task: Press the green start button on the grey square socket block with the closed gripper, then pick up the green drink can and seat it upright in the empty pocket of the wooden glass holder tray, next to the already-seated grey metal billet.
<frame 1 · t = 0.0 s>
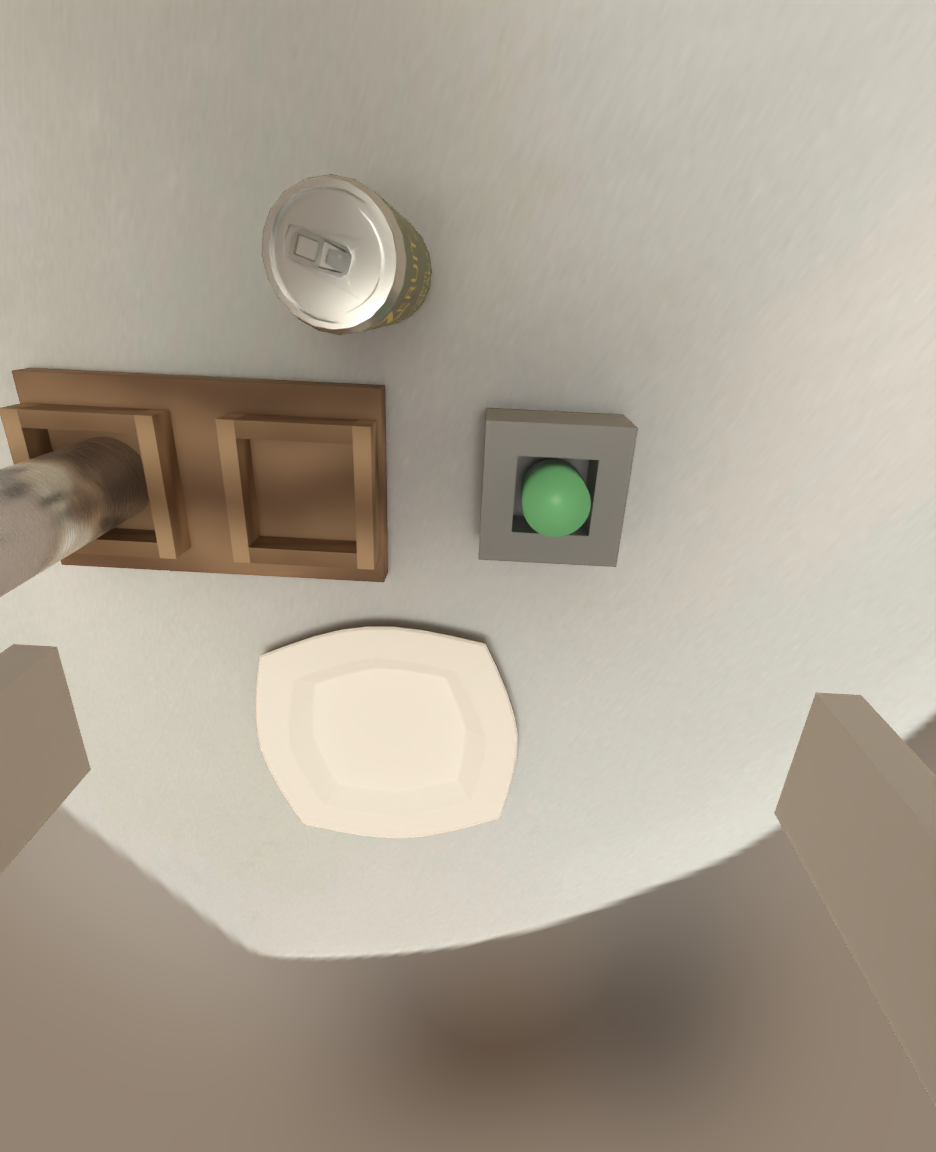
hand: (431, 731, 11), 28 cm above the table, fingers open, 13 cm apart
plate: (391, 724, 46), on the table
green drink can: (384, 270, 33), on the table
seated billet: (111, 478, 37), resting on wooden glass holder tray
start button: (554, 497, 34), point 4 cm above the table, slide at 0.0 cm
grey square socket block: (548, 477, 37), on the table
wooden glass holder tray: (219, 476, 38), on the table
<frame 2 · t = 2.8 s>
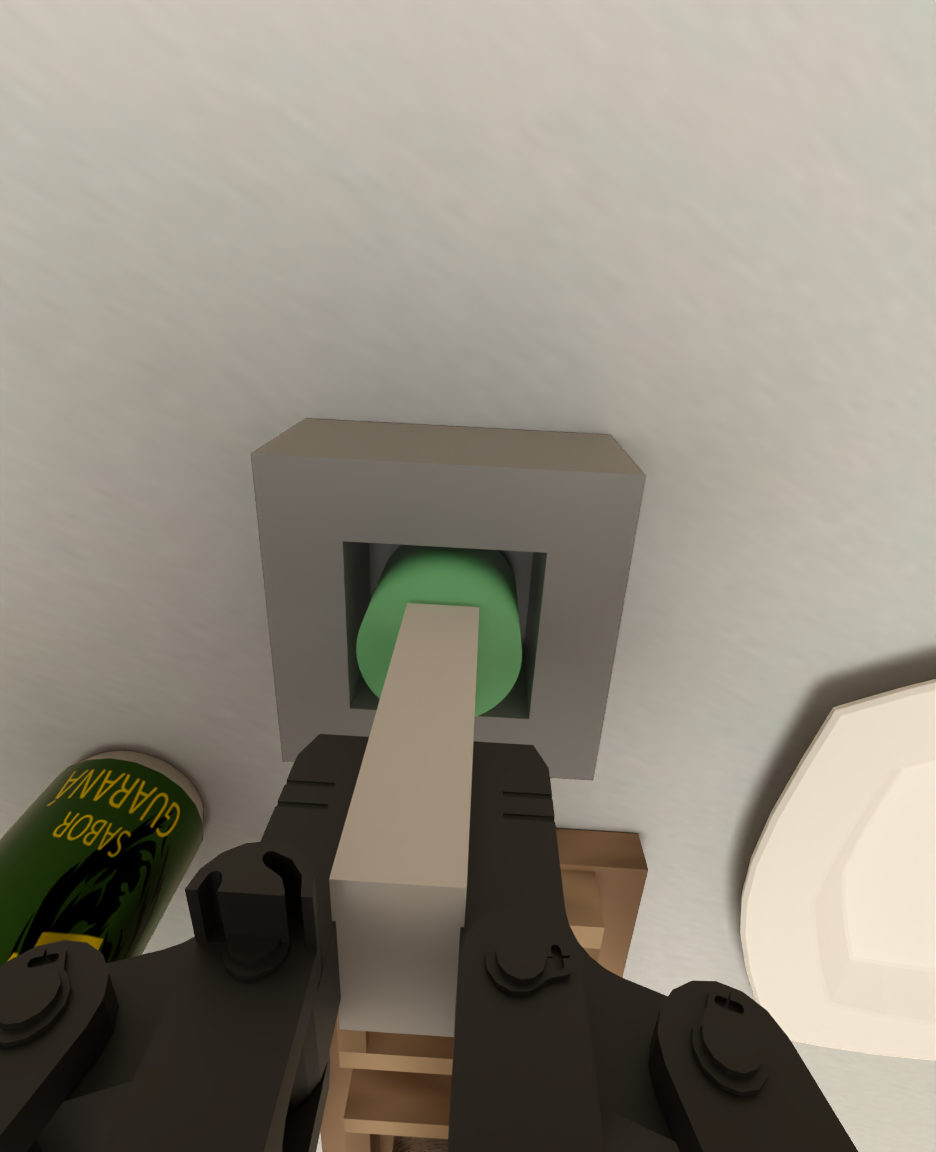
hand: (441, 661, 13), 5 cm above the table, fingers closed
green drink can: (140, 798, 22), on the table
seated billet: (451, 1121, 27), resting on wooden glass holder tray
start button: (443, 622, 15), point 3 cm above the table, slide at 0.6 cm, touching gripper
grey square socket block: (452, 566, 18), on the table
wooden glass holder tray: (458, 1003, 26), on the table
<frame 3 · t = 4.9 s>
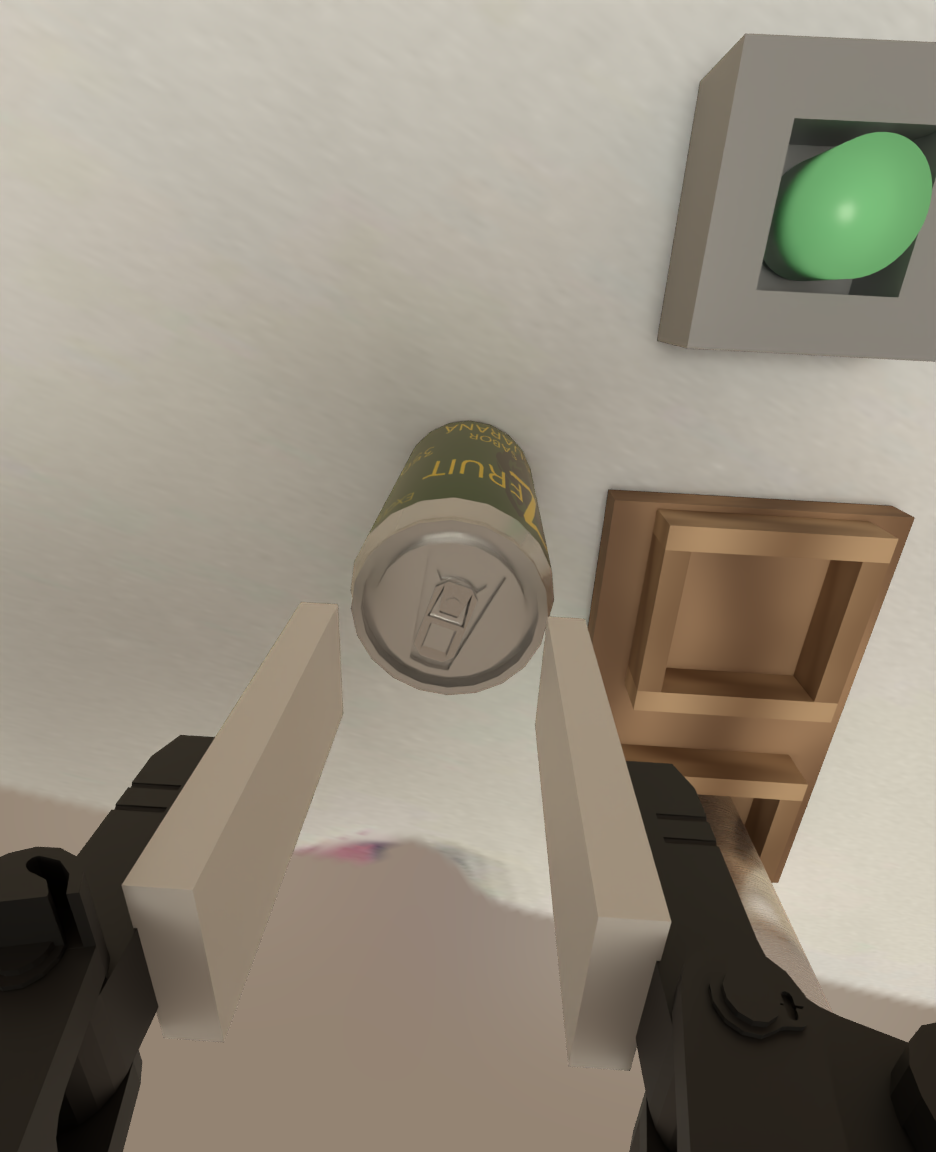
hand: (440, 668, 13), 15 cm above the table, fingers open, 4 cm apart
green drink can: (468, 480, 26), on the table
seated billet: (683, 813, 31), resting on wooden glass holder tray
start button: (837, 215, 19), point 3 cm above the table, slide at 0.7 cm
grey square socket block: (789, 226, 22), on the table
wooden glass holder tray: (698, 700, 30), on the table
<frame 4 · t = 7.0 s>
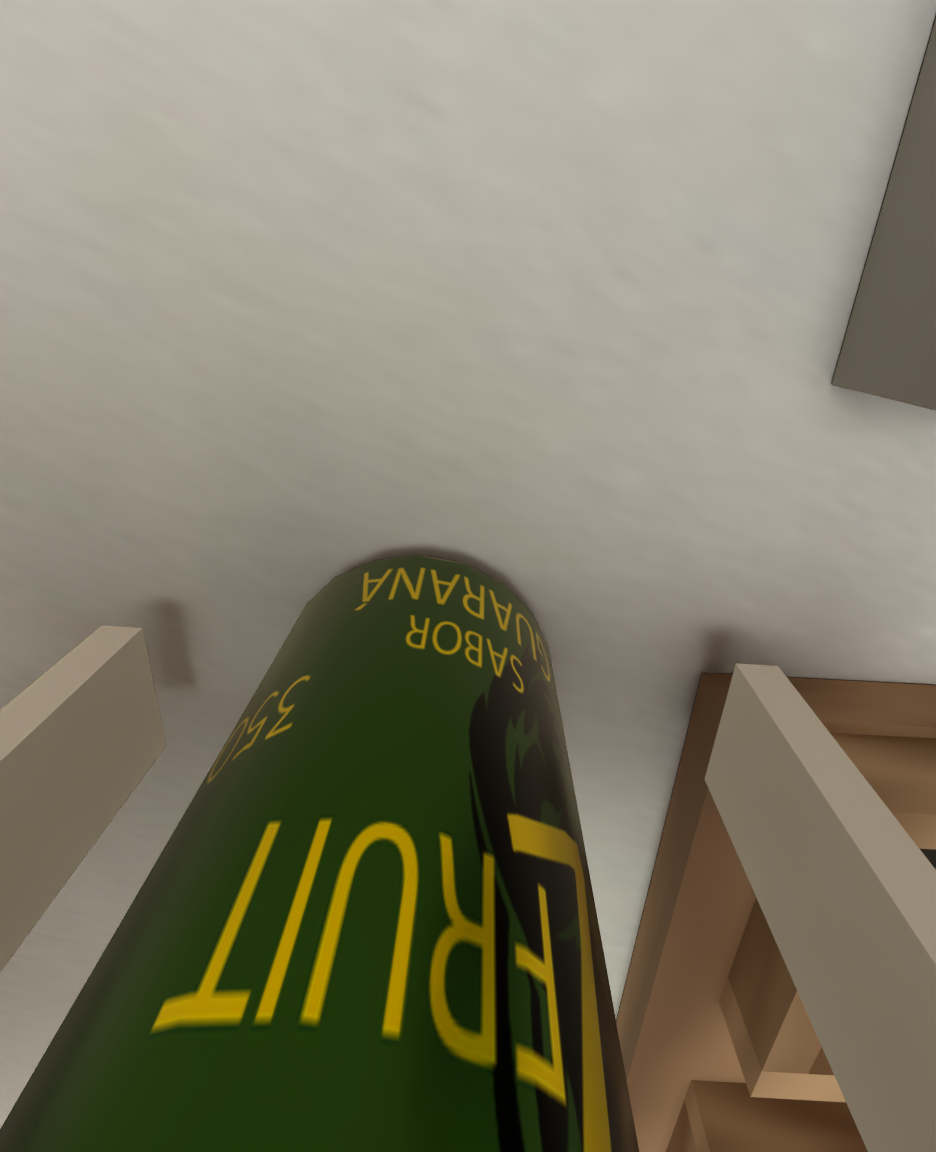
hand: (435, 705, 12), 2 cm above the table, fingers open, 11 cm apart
green drink can: (423, 652, 13), on the table
wooden glass holder tray: (836, 992, 17), on the table
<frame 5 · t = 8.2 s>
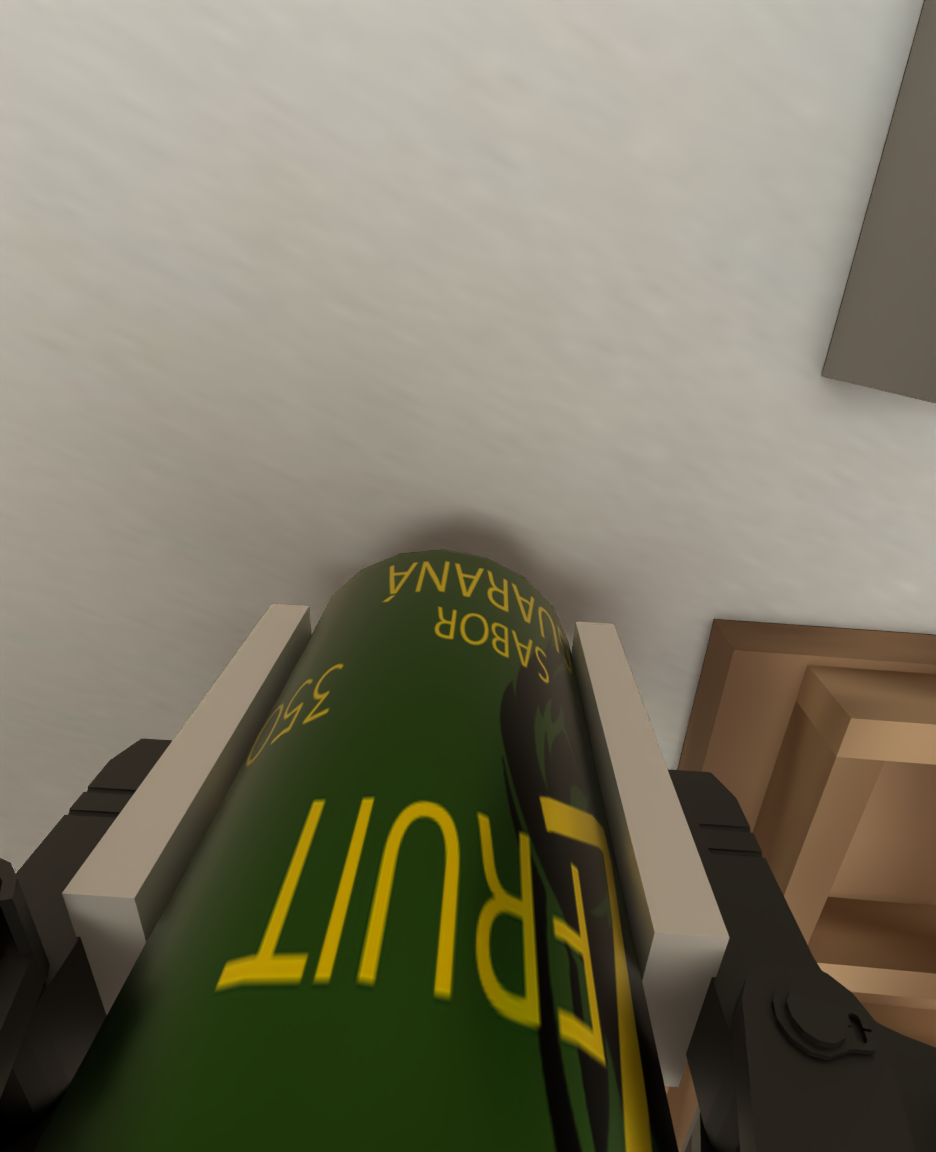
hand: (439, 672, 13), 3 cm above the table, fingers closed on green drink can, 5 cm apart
green drink can: (444, 645, 13), point 2 cm above the table, touching gripper
wooden glass holder tray: (833, 918, 20), on the table
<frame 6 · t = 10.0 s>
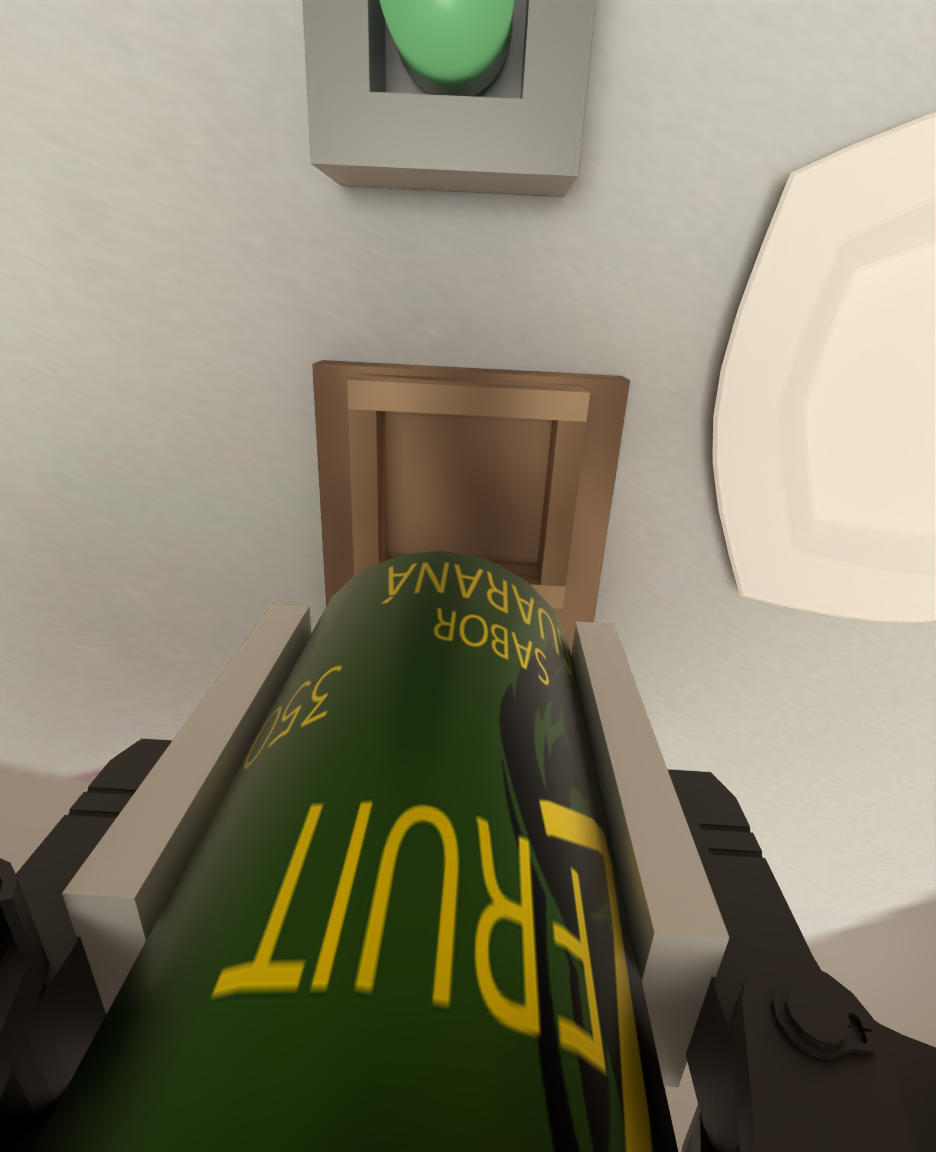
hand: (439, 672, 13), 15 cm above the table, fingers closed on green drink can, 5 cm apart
green drink can: (443, 646, 13), point 14 cm above the table, touching gripper
start button: (449, 6, 17), point 3 cm above the table, slide at 0.7 cm
grey square socket block: (456, 49, 20), on the table
wooden glass holder tray: (460, 601, 29), on the table
when the fingers open (5 cm above the table, at t = 12.0 s): green drink can drops 2 cm, resting on wooden glass holder tray.
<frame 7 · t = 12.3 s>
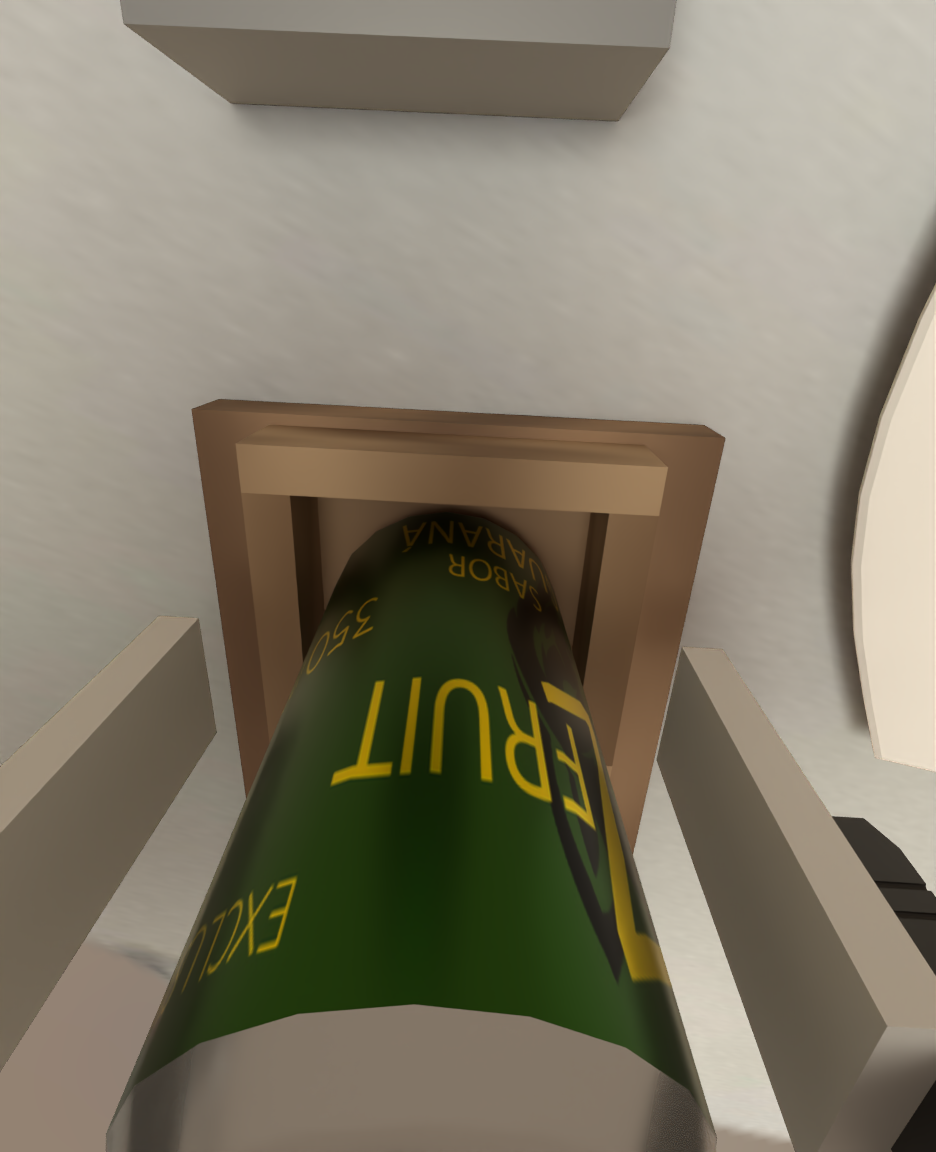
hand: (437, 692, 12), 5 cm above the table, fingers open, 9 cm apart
green drink can: (445, 598, 16), point 1 cm above the table, touching wooden glass holder tray
wooden glass holder tray: (446, 748, 19), on the table
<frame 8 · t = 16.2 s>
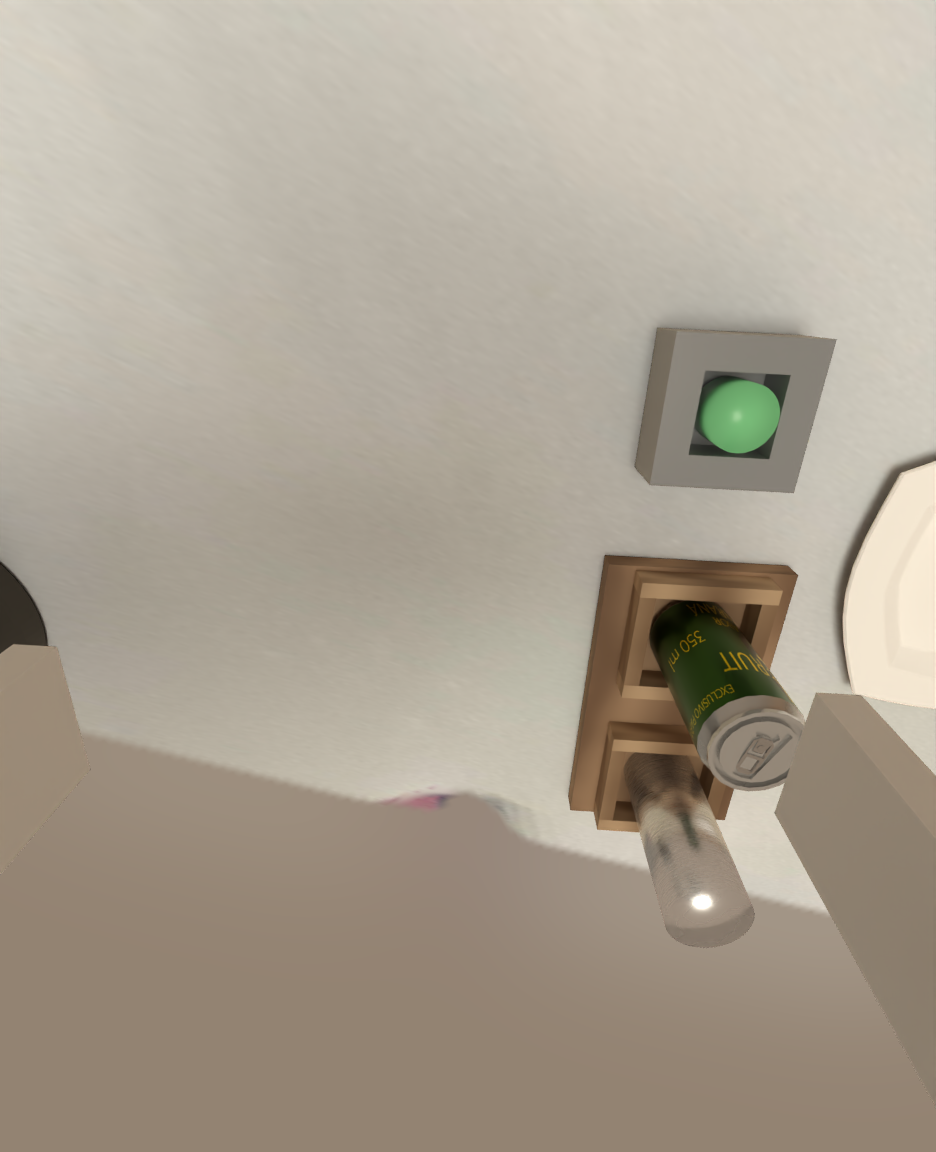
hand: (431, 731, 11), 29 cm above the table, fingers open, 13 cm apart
green drink can: (686, 629, 41), point 1 cm above the table, touching wooden glass holder tray
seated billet: (657, 770, 46), resting on wooden glass holder tray
start button: (733, 413, 33), point 3 cm above the table, slide at 0.7 cm
grey square socket block: (713, 404, 36), on the table
wooden glass holder tray: (666, 692, 44), on the table
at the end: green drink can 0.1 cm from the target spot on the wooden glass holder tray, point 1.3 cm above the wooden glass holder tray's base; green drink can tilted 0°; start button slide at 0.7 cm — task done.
